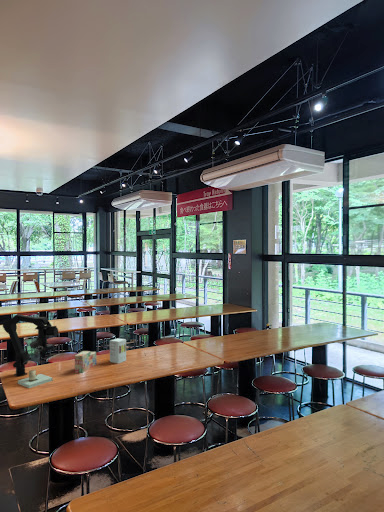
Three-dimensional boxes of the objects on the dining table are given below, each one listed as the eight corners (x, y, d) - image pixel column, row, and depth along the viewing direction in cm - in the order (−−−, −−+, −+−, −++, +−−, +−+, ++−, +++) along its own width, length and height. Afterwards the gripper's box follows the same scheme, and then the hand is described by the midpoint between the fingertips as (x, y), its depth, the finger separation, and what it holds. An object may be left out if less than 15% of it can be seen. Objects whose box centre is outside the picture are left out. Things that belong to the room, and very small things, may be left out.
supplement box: (118, 363, 264) (118, 341, 264) (109, 362, 269) (109, 340, 269) (126, 360, 272) (126, 339, 273) (117, 358, 277) (117, 337, 277)
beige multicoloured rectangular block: (89, 363, 266) (88, 347, 266) (96, 363, 265) (96, 347, 265) (74, 372, 245) (74, 355, 245) (82, 373, 244) (82, 355, 244)
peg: (27, 383, 225) (27, 371, 225) (33, 381, 228) (33, 369, 228) (30, 384, 222) (30, 372, 222) (37, 382, 226) (37, 370, 226)
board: (17, 383, 224) (17, 380, 224) (41, 376, 237) (41, 373, 237) (29, 388, 216) (29, 385, 216) (52, 380, 229) (52, 377, 229)
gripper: (24, 336, 239) (24, 358, 239) (38, 339, 228) (39, 363, 228) (39, 333, 248) (39, 355, 248) (54, 336, 237) (54, 359, 236)
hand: (42, 358), depth 240 cm, fingers closed
